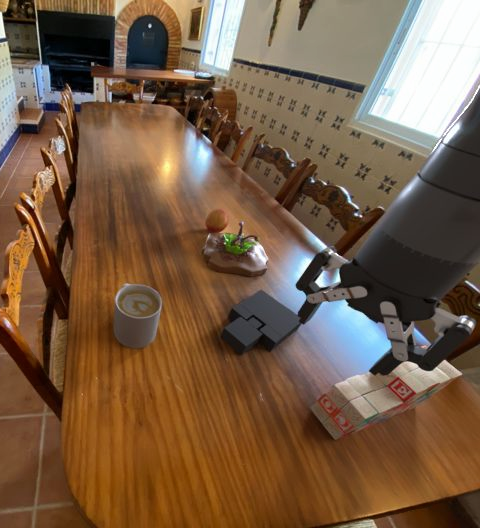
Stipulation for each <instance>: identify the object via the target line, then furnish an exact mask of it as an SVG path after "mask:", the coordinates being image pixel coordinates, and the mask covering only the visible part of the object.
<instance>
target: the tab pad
mask: <svg viewBox="0 0 480 528" xmlns="http://www.w3.org/2000/svg"><path fill="white" fill-rule="evenodd" d="M261 326H262V324H261V323H260V322H259V321H257V320H256V319H255V318H254V317H253V318H251V319H250V320H248V321H246V320H244V319H243V318H242V317H239V318H238V319H236V320H235V321H231V322H230V323H229V324H227V325H226V326H224V328H223V330H222V332H221V334H220V336H219V337H220V339H222V341H224V342H225V343H226V344H227V345H228V346H229V347H230V348H231V349H233V350H234V351H235V352H236V353H237V354H238V355H239V356H240V357H242V356H243V355H245V354H246V353H247V352H248V351H250V350H251V349H253V348H254V347H255V346H256V345H258V344H259V343H258V341H259V340H260V338H261V336H262V333H261V332H259V330H260V328H261Z"/></svg>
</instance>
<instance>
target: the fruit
mask: <svg viewBox="0 0 480 528" xmlns="http://www.w3.org/2000/svg"><path fill="white" fill-rule="evenodd" d="M229 222H230V219H229V216H228V214H227V213H226V212H225V211H224V210H223V209H221V208H214V209H212V210H210V211H209V213H208V214H207V215H206V218H205V227H206V230H207V231H208V232H209V233H211V232H212V233H222V232H223V231H224V230H225V229H226V228H227V227H228V226H229Z"/></svg>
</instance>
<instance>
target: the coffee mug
mask: <svg viewBox="0 0 480 528" xmlns="http://www.w3.org/2000/svg"><path fill="white" fill-rule="evenodd" d="M162 300H163V299H162V297H161V295H160V293H159V292H158V291H157V290H155V289H154V288H153V287H151V286H148V285H145V284H141V283H133V284H130V283H124V284H122V286H121V288H120V289H119V290H118V291H117V292H116V293H115V297H114V308H113V309H114V311H113V328H112V329H113V330H112V331H113V336H114V337H115V339H116V340H117V341H118V342H119V343H120V345H122V346H125V347H127V348H130V349H142V348H146V347H148V346H150V345H151V344H152V343H153V342H154V341H155V339H156V336H157V332H158V327H159V322H160V317H161V312H162V307H163V301H162Z"/></svg>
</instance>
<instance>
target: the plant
mask: <svg viewBox="0 0 480 528" xmlns="http://www.w3.org/2000/svg"><path fill="white" fill-rule="evenodd" d="M237 225H238V226H239V230H238V233H233V232H228V231H227V232H219V233H212V232H209V234H208V235H207V238H206V240H205V244H204V246H203V247H202V248H201V252H200V253H201V254H202V259H203V260H204V262H207V263H208V264H207V266H208V267H209V269H211V270H214V271H215V272H218V273H223V274H235V275H241V276H245V277H248V278H252V277H259V276H260V275H265V274H266V273H267V270H268V266H267V264H268V262H269V257H268V256H267V253H266V252H265V250H264V247H263V246H262V245H261V243H260V237H259V236H258V235H256V234H255V235H254V234H248V235H246V236H245V235H244V233H243V229H244V228H243V226H244V221H239V222H238V224H237ZM253 238H254V239H253Z"/></svg>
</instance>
